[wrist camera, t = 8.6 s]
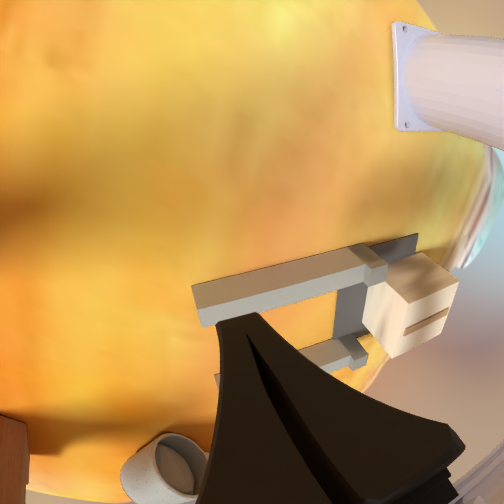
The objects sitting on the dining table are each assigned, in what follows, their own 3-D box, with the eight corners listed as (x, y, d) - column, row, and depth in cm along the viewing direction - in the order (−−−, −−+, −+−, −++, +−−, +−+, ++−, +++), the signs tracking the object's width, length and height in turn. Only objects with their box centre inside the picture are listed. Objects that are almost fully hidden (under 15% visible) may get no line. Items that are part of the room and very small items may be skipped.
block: (421, 251, 26) (460, 281, 22) (409, 303, 29) (441, 334, 25) (370, 268, 25) (410, 305, 20) (361, 322, 28) (393, 359, 24)
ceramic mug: (112, 453, 28) (120, 512, 22) (147, 424, 27) (160, 493, 20) (185, 467, 34) (200, 517, 28) (225, 441, 32) (245, 497, 26)
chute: (363, 242, 23) (388, 263, 21) (348, 342, 29) (365, 365, 26) (191, 285, 21) (199, 317, 18) (216, 384, 26) (226, 413, 24)
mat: (416, 233, 25) (418, 234, 25) (397, 319, 30) (398, 320, 30) (340, 254, 23) (342, 255, 23) (331, 345, 28) (332, 347, 28)
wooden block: (30, 455, 25) (36, 584, 10) (-3, 445, 23) (-3, 573, 8) (26, 422, 22) (28, 584, 7) (-12, 409, 20) (-22, 568, 5)
